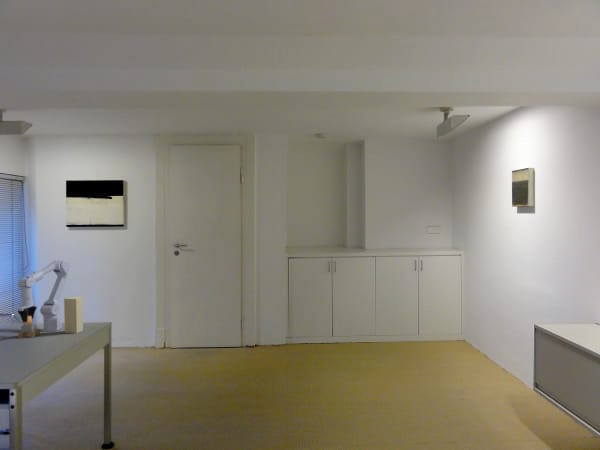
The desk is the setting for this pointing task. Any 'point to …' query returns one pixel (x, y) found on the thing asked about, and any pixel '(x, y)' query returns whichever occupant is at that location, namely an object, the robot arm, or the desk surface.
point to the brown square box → (29, 334)
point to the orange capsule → (28, 321)
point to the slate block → (29, 328)
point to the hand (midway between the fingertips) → (27, 320)
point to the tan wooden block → (73, 314)
